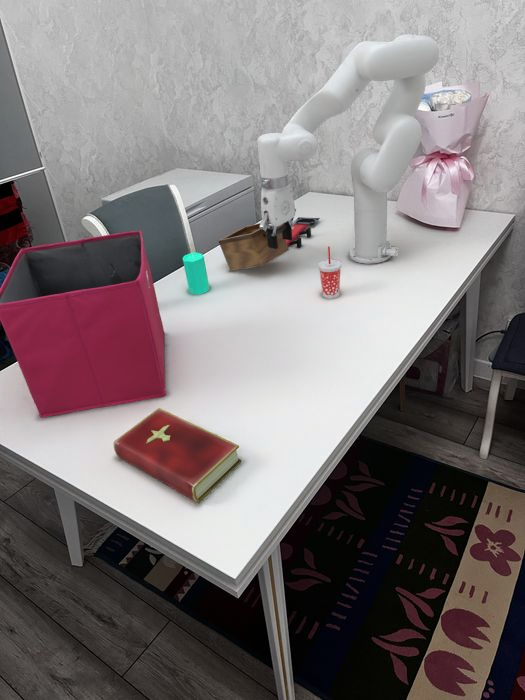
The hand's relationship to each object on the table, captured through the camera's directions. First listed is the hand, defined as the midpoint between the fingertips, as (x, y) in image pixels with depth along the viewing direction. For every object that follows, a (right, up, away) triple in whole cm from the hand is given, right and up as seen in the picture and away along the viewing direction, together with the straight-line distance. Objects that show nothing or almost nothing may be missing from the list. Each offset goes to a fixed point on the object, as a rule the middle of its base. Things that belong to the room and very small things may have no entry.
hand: (280, 243), depth 161 cm
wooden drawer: (-4, -4, +7) cm, 9 cm away
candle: (-24, -14, +2) cm, 27 cm away
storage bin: (-41, -37, -30) cm, 63 cm away
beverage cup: (+14, -16, -9) cm, 23 cm away
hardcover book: (-21, -52, -58) cm, 80 cm away
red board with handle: (+4, +8, +30) cm, 31 cm away
